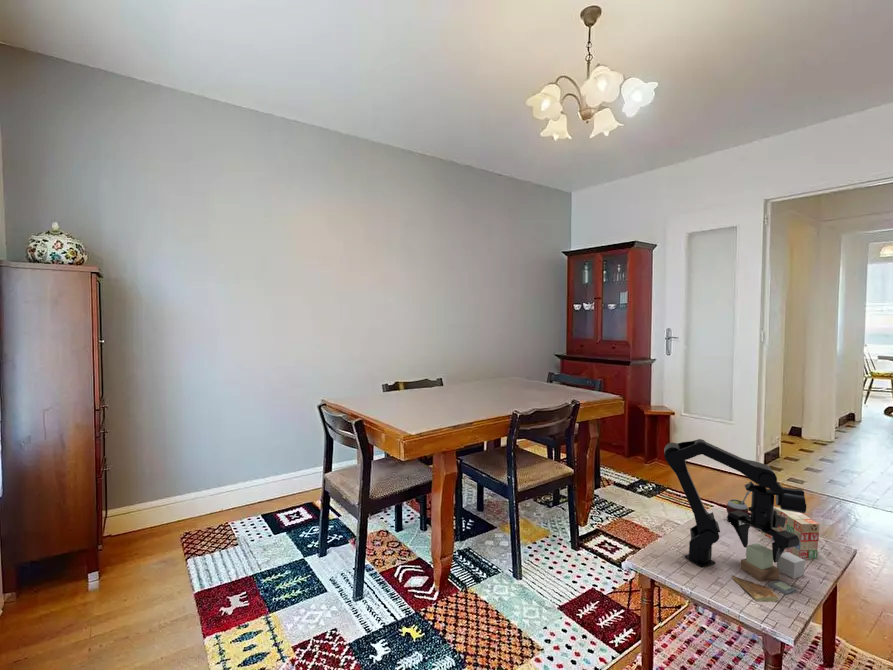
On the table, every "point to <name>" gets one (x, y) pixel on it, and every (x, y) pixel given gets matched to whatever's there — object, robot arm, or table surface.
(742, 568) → the walnut block
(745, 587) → the shard
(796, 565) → the grey cube
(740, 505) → the mate gourd
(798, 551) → the stack of blocks
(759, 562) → the sage cube
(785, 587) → the card
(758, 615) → the table surface
